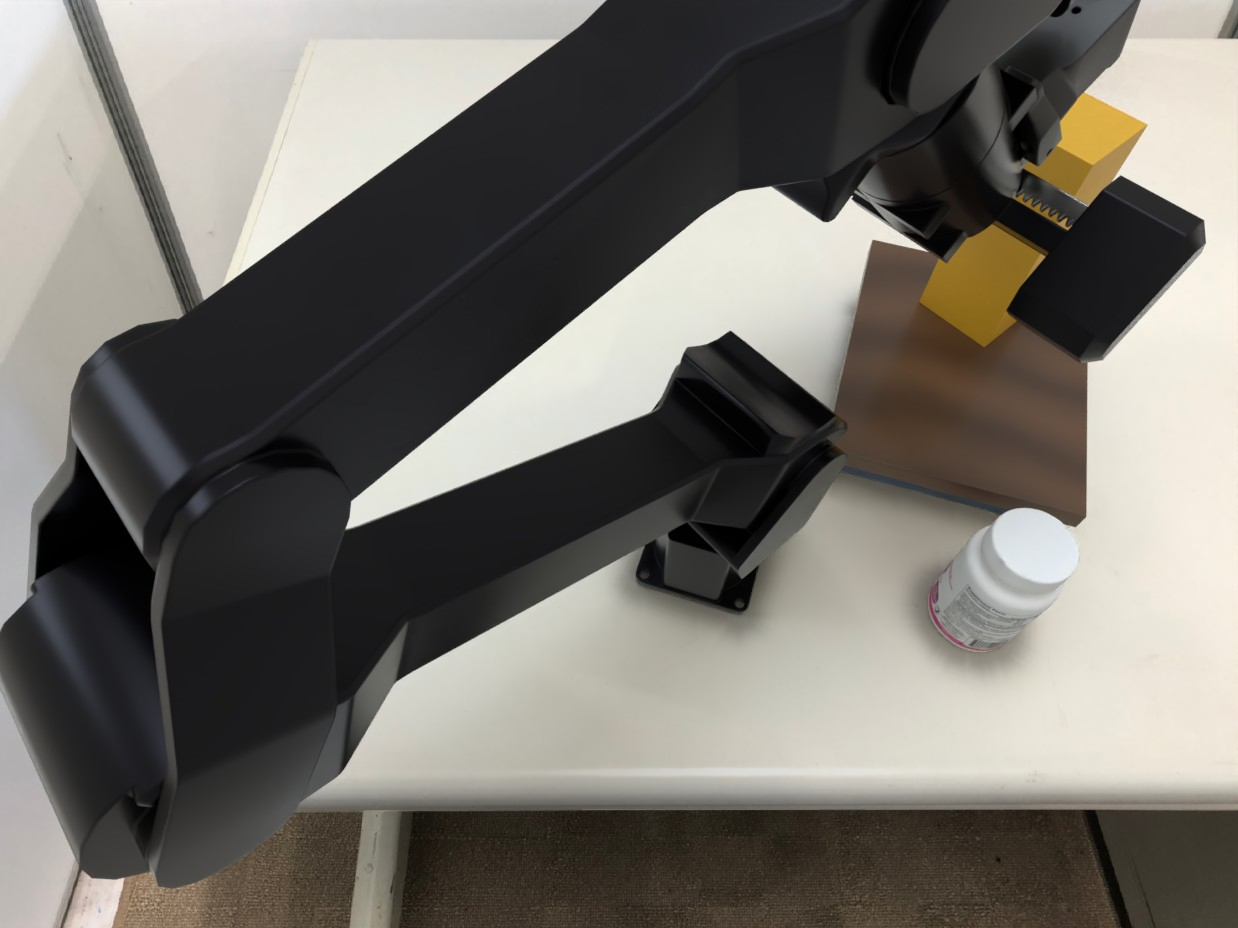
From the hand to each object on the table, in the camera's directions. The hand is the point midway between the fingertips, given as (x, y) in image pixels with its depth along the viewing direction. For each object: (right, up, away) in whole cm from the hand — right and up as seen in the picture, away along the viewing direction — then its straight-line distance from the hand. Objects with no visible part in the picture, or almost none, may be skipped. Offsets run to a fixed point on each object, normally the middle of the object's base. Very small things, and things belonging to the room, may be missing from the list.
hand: (977, 231), depth 41 cm
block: (+4, -2, +9) cm, 10 cm away
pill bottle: (+1, -20, +3) cm, 21 cm away
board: (+2, -8, +11) cm, 14 cm away
